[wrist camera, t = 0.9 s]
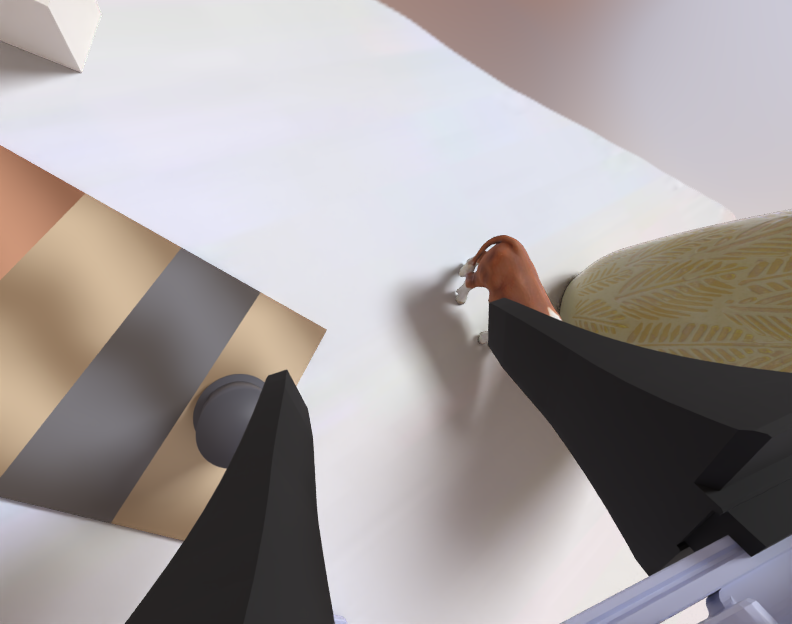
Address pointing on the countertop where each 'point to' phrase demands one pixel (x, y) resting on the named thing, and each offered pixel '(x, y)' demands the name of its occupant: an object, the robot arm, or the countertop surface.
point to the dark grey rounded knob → (225, 416)
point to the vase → (696, 294)
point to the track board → (117, 356)
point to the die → (51, 28)
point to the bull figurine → (505, 277)
